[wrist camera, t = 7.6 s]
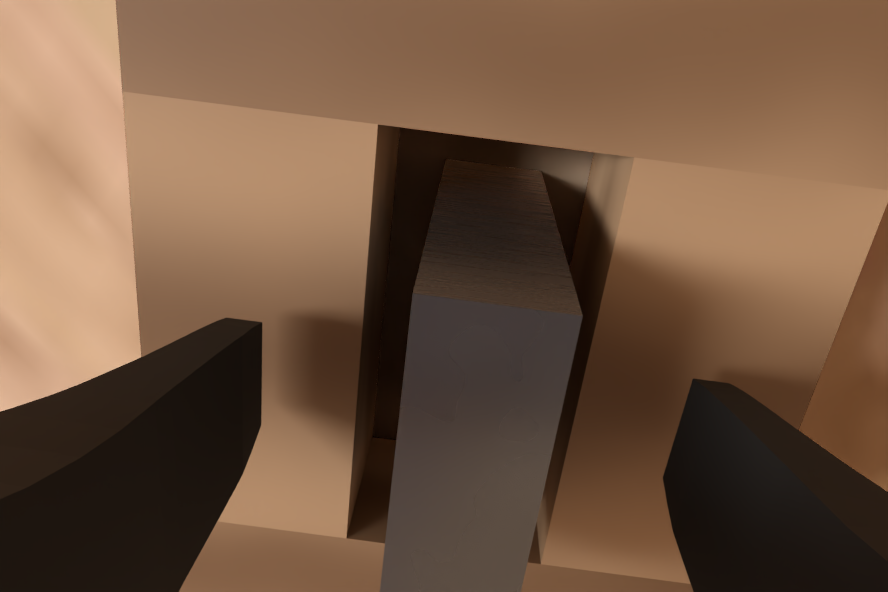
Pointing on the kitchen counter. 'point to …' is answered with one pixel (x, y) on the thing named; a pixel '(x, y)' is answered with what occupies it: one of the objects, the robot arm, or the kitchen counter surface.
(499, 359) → the grey rectangular block
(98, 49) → the kitchen counter surface
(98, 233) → the kitchen counter surface
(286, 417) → the slotted wooden block
